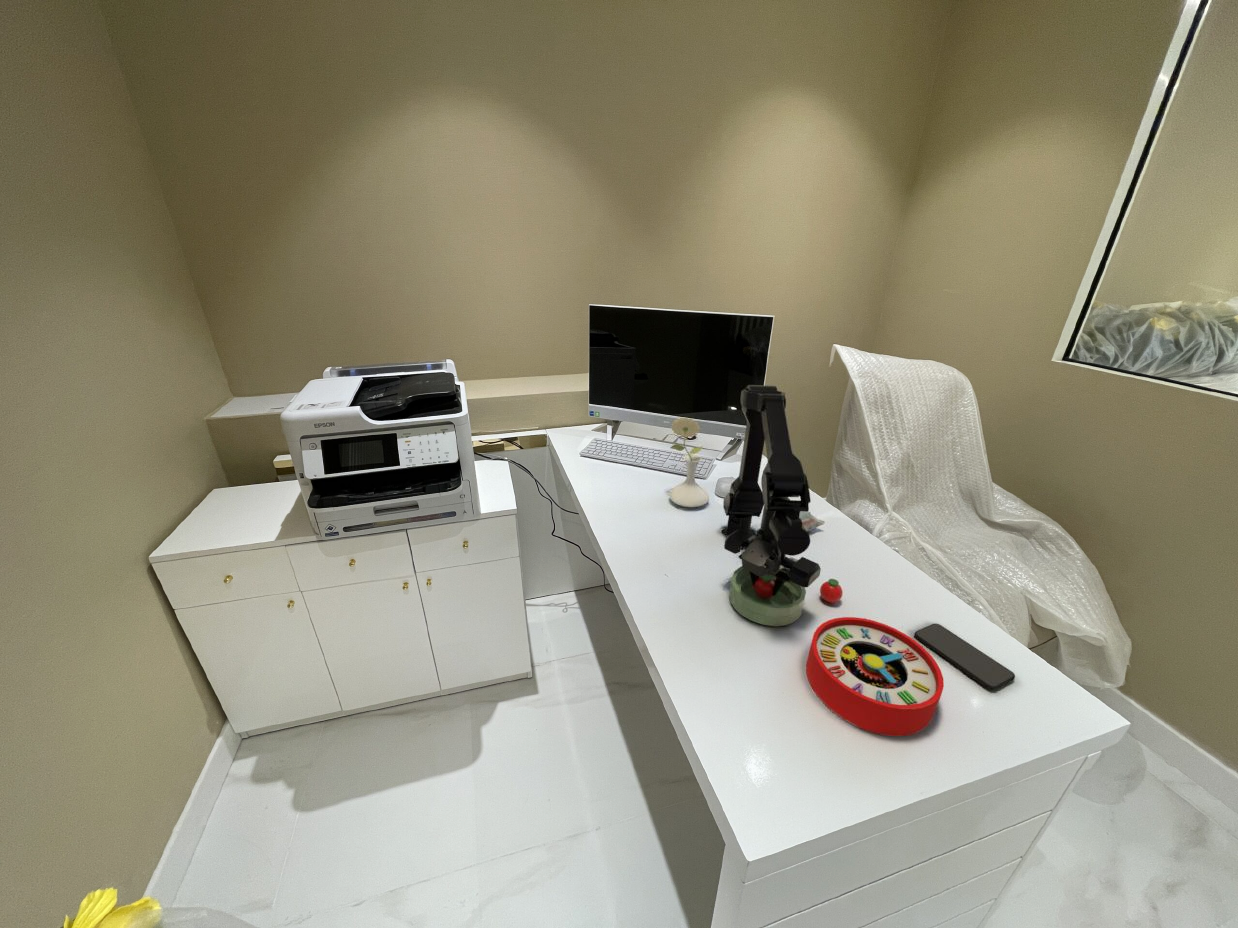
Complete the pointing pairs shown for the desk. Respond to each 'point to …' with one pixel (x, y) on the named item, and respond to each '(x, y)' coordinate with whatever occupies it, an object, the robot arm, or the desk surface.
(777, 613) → the bowl
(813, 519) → the packaged food
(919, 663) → the toy clock
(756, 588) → the red round piece
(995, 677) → the smartphone
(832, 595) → the red toy tomato
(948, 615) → the desk surface
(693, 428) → the flower in vase
